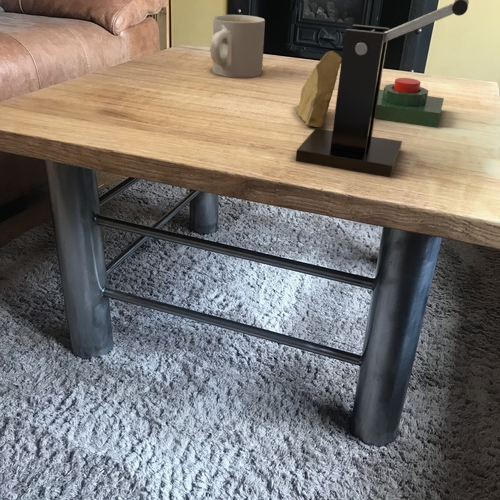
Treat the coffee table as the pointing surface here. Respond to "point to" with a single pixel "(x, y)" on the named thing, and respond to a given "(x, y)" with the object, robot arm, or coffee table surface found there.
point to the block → (409, 106)
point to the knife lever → (427, 19)
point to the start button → (407, 85)
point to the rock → (319, 90)
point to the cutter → (355, 111)
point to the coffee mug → (237, 45)
